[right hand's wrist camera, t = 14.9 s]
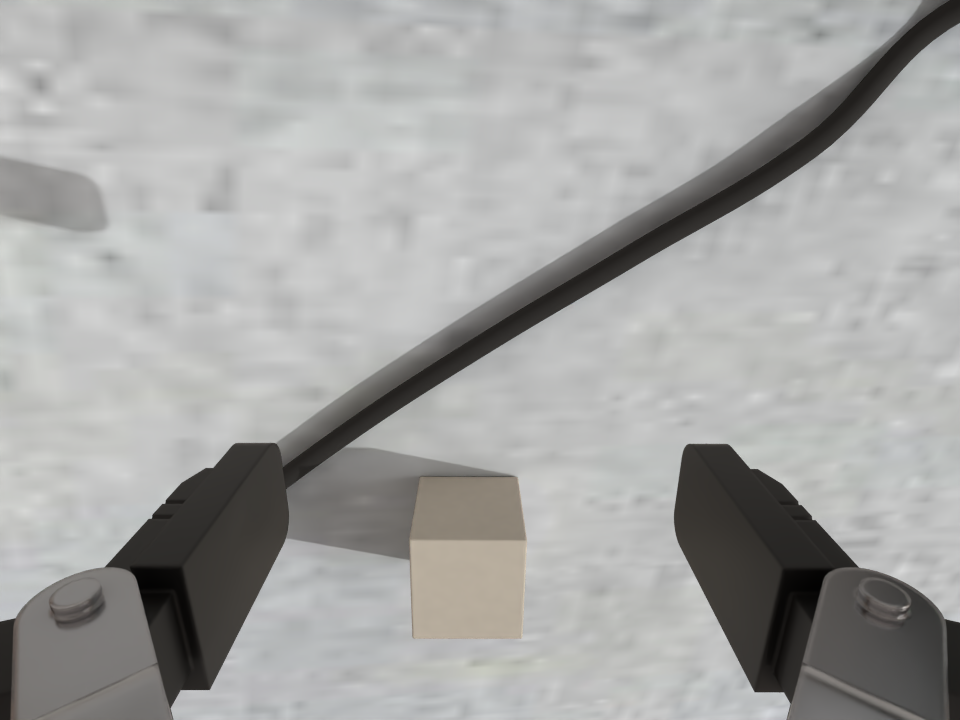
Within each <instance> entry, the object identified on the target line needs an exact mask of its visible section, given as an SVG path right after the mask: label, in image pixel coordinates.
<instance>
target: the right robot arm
mask: <svg viewBox="0 0 960 720" xmlns="http://www.w3.org/2000/svg"><path fill="white" fill-rule="evenodd" d="M959 23H960V0H950V1H948V2H947V3H945V4H944V5H942V6H940V7H939V8H937V9H936V10H935V11H933V12H932V13H930V14H929V15H928V16H926V17H925V18H924V19H922V20H921V21H920V22H919V23H917V24H916V25H915V26H914V27H913V28H912V29H910V30H909V31H908V32H907V33H906V34H905V35H904V36H903V37H902V38H901V39H900V40H899V41H898V42H897V43H896V44H895V45H894V46H893V47H892V48H891V49H890V50H889V51H888V52H887V53H886V54H885V55H884V56H883V57H882V58H881V60H880V61H879V62H878V63H877V64H876V65H875V66H874V68H873V69H872V70H871V71H870V72H869V73H868V74H867V76H866V77H865V78H864V79H863V80H862V81H861V82H860V84H859V85H858V86H857V87H856V88H855V89H854V91H853V92H852V93H851V94H850V95H849V96H848V97H847V99H846V100H845V101H844V102H843V103H842V104H841V105H840V106H839V107H838V108H837V109H836V110H835V111H834V112H833V113H832V114H831V115H830V116H829V117H828V118H827V119H826V120H825V121H824V122H823V123H822V124H820V125H819V126H818V127H817V128H816V129H814V130H813V131H812V132H811V133H809V134H808V135H807V136H806V137H804V138H803V139H802V140H800V141H799V142H798V143H796V144H795V145H793V146H792V147H790V148H789V149H788V150H786V151H785V152H783V153H782V154H780V155H779V156H777V157H776V158H775V159H773V160H772V161H770V162H769V163H767V164H766V165H764V166H762V167H761V168H759V169H758V170H756V171H755V172H753V173H751V174H750V175H748V176H747V177H745V178H743V179H742V180H740V181H738V182H737V183H735V184H733V185H732V186H730V187H728V188H727V189H725V190H723V191H722V192H720V193H718V194H716V195H715V196H713V197H711V198H709V199H708V200H706V201H704V202H702V203H701V204H699V205H697V206H695V207H693V208H692V209H690V210H688V211H686V212H685V213H683V214H681V215H679V216H677V217H676V218H674V219H672V220H670V221H669V222H667V223H665V224H663V225H662V226H660V227H658V228H656V229H655V230H653V231H651V232H650V233H648V234H646V235H644V236H643V237H641V238H639V239H638V240H636V241H634V242H633V243H631V244H629V245H628V246H626V247H624V248H623V249H621V250H619V251H618V252H616V253H614V254H613V255H611V256H609V257H608V258H606V259H604V260H603V261H601V262H599V263H598V264H596V265H594V266H593V267H591V268H589V269H588V270H586V271H584V272H583V273H581V274H579V275H578V276H576V277H574V278H573V279H571V280H569V281H567V282H566V283H564V284H562V285H561V286H559V287H557V288H556V289H554V290H552V291H551V292H549V293H547V294H546V295H544V296H542V297H540V298H539V299H537V300H535V301H534V302H532V303H530V304H529V305H527V306H525V307H524V308H522V309H520V310H519V311H517V312H515V313H514V314H512V315H511V316H509V317H507V318H506V319H504V320H502V321H501V322H499V323H497V324H496V325H494V326H493V327H491V328H489V329H488V330H486V331H485V332H483V333H481V334H480V335H478V336H477V337H475V338H473V339H472V340H470V341H469V342H467V343H465V344H464V345H462V346H461V347H459V348H458V349H456V350H454V351H453V352H451V353H450V354H448V355H446V356H445V357H443V358H442V359H440V360H438V361H437V362H435V363H434V364H432V365H431V366H429V367H427V368H426V369H424V370H423V371H421V372H420V373H418V374H417V375H415V376H413V377H412V378H410V379H409V380H407V381H406V382H404V383H403V384H401V385H400V386H398V387H397V388H395V389H393V390H392V391H390V392H389V393H387V394H386V395H384V396H383V397H381V398H380V399H378V400H377V401H375V402H374V403H373V404H371V405H370V406H368V407H367V408H365V409H364V410H362V411H361V412H359V413H358V414H357V415H355V416H354V417H352V418H351V419H349V420H348V421H346V422H345V423H344V424H342V425H341V426H339V427H338V428H337V429H335V430H334V431H332V432H331V433H330V434H328V435H327V436H325V437H324V438H323V439H321V440H320V441H318V442H317V443H316V444H314V445H313V446H311V447H310V448H309V449H307V450H306V451H305V452H303V453H302V454H300V455H299V456H298V457H296V458H295V459H294V460H292V461H291V462H290V463H288V464H287V465H286V466H284V467H283V466H282V459H281V453H280V450H279V447H278V446H277V444H275V443H236V444H234V445H233V446H232V447H231V448H230V449H229V450H228V451H227V453H226V454H225V455H224V456H223V457H222V459H221V460H220V461H219V462H218V463H217V464H216V466H215V467H214V468H205V469H204V470H202V471H200V472H199V473H197V474H196V475H194V476H192V477H191V478H189V479H187V480H186V481H184V482H182V483H181V484H180V485H179V486H178V487H177V489H176V490H175V491H174V492H173V493H172V494H171V495H170V496H169V497H168V498H167V500H166V503H165V504H162V505H161V506H160V507H159V508H158V509H157V511H156V512H155V513H154V514H153V515H152V519H148V520H147V522H146V523H145V524H144V525H143V526H142V527H141V528H140V529H139V530H138V531H137V532H136V534H135V535H134V536H133V537H132V538H131V539H130V540H129V541H128V542H127V543H126V545H125V546H124V547H123V548H122V549H121V550H120V551H119V552H118V553H117V554H116V556H115V557H114V558H113V559H112V560H111V561H110V562H109V563H108V564H107V565H106V566H105V567H104V568H96V569H91V570H87V571H83V572H80V573H77V574H74V575H71V576H69V577H66V578H64V579H62V580H60V581H58V582H56V583H54V584H52V585H50V586H49V587H47V588H45V589H44V590H42V591H41V592H40V593H38V594H37V595H35V596H34V597H33V598H32V599H31V600H30V601H28V603H27V604H26V605H25V606H24V607H23V608H22V609H21V611H20V612H19V613H18V615H17V617H16V618H15V619H10V620H6V621H1V622H0V720H173V716H172V712H171V709H170V708H171V706H172V705H173V703H174V701H175V699H176V697H177V696H178V694H179V692H180V690H210V688H211V686H212V684H213V682H214V680H215V678H216V676H217V675H218V673H219V671H220V669H221V667H222V665H223V663H224V661H225V659H226V657H227V655H228V653H229V651H230V649H231V647H232V645H233V643H234V641H235V639H236V637H237V635H238V633H239V631H240V629H241V627H242V625H243V623H244V621H245V619H246V617H247V615H248V613H249V611H250V609H251V607H252V605H253V603H254V601H255V599H256V597H257V595H258V593H259V592H260V590H261V588H262V586H263V584H264V582H265V580H266V578H267V576H268V574H269V572H270V570H271V568H272V566H273V564H274V562H275V560H276V558H277V556H278V554H279V552H280V550H281V548H282V546H283V544H284V542H285V539H286V535H287V531H288V523H289V510H288V502H287V495H286V489H287V488H288V487H289V486H291V485H292V484H293V483H295V482H296V481H297V480H299V479H300V478H301V477H303V476H304V475H305V474H307V473H308V472H310V471H311V470H312V469H314V468H315V467H316V466H318V465H319V464H321V463H322V462H323V461H325V460H326V459H328V458H329V457H330V456H332V455H333V454H335V453H336V452H338V451H339V450H340V449H342V448H343V447H345V446H346V445H348V444H349V443H350V442H352V441H353V440H355V439H356V438H358V437H359V436H360V435H362V434H363V433H365V432H366V431H368V430H369V429H371V428H372V427H374V426H375V425H377V424H378V423H380V422H381V421H382V420H384V419H385V418H387V417H388V416H390V415H391V414H393V413H394V412H396V411H398V410H399V409H401V408H402V407H404V406H405V405H407V404H408V403H410V402H411V401H413V400H414V399H416V398H418V397H419V396H421V395H422V394H424V393H425V392H427V391H429V390H430V389H432V388H433V387H435V386H437V385H438V384H440V383H441V382H443V381H444V380H446V379H448V378H449V377H451V376H452V375H454V374H456V373H457V372H459V371H461V370H462V369H464V368H465V367H467V366H469V365H470V364H472V363H473V362H475V361H477V360H478V359H480V358H481V357H483V356H485V355H486V354H488V353H490V352H491V351H493V350H494V349H496V348H498V347H499V346H501V345H503V344H504V343H506V342H507V341H509V340H511V339H512V338H514V337H516V336H517V335H519V334H521V333H522V332H524V331H526V330H527V329H529V328H531V327H532V326H534V325H536V324H537V323H539V322H541V321H543V320H544V319H546V318H548V317H549V316H551V315H553V314H554V313H556V312H558V311H560V310H561V309H563V308H565V307H566V306H568V305H570V304H572V303H573V302H575V301H577V300H578V299H580V298H582V297H584V296H585V295H587V294H589V293H590V292H592V291H594V290H595V289H597V288H599V287H601V286H602V285H604V284H606V283H607V282H609V281H611V280H613V279H614V278H616V277H618V276H619V275H621V274H623V273H624V272H626V271H628V270H629V269H631V268H633V267H634V266H636V265H638V264H639V263H641V262H643V261H645V260H646V259H648V258H650V257H651V256H653V255H655V254H656V253H658V252H660V251H662V250H663V249H665V248H667V247H669V246H670V245H672V244H674V243H676V242H678V241H679V240H681V239H683V238H685V237H686V236H688V235H690V234H692V233H694V232H695V231H697V230H699V229H701V228H703V227H704V226H706V225H708V224H710V223H712V222H713V221H715V220H717V219H719V218H721V217H722V216H724V215H726V214H728V213H729V212H731V211H733V210H735V209H736V208H738V207H740V206H742V205H743V204H745V203H747V202H748V201H750V200H752V199H753V198H755V197H757V196H758V195H760V194H761V193H763V192H765V191H766V190H768V189H770V188H771V187H773V186H774V185H776V184H777V183H779V182H780V181H782V180H783V179H785V178H786V177H788V176H789V175H791V174H792V173H794V172H795V171H797V170H798V169H800V168H801V167H803V166H804V165H805V164H807V163H808V162H810V161H811V160H812V159H814V158H815V157H817V156H818V155H819V154H820V153H822V152H823V151H824V150H826V149H827V148H828V147H829V146H831V145H832V144H833V143H834V142H835V141H836V140H837V139H838V138H840V137H841V136H842V135H843V134H844V133H845V132H846V131H847V130H848V129H849V128H850V127H851V126H852V125H853V124H854V123H855V122H856V121H857V120H858V119H859V118H860V117H861V116H862V115H863V114H864V113H865V112H866V111H867V110H868V108H869V107H870V106H871V105H872V104H873V103H874V102H875V101H876V99H877V98H878V97H879V96H880V95H881V94H882V92H883V91H884V90H885V89H886V88H887V87H888V85H889V84H890V83H891V82H892V81H893V80H894V79H895V77H896V76H897V75H898V74H899V73H900V72H901V71H902V70H903V68H904V67H905V66H906V65H907V64H908V63H909V62H910V61H911V60H912V59H913V58H914V57H915V56H916V55H917V54H918V53H919V52H920V51H921V50H922V49H924V48H925V47H926V46H927V45H928V44H930V43H931V42H932V41H933V40H935V39H936V38H937V37H939V36H940V35H942V34H943V33H944V32H946V31H947V30H949V29H950V28H952V27H954V26H955V25H957V24H959ZM674 525H675V532H676V537H677V540H678V543H679V545H680V547H681V549H682V551H683V553H684V555H685V557H686V559H687V561H688V563H689V565H690V567H691V569H692V571H693V573H694V574H695V576H696V578H697V580H698V582H699V584H700V586H701V588H702V590H703V592H704V594H705V596H706V598H707V600H708V602H709V604H710V606H711V608H712V610H713V612H714V614H715V616H716V617H717V619H718V621H719V623H720V625H721V627H722V629H723V631H724V633H725V635H726V637H727V639H728V641H729V643H730V645H731V647H732V649H733V651H734V653H735V655H736V657H737V658H738V660H739V662H740V664H741V666H742V668H743V670H744V672H745V674H746V676H747V678H748V680H749V682H750V684H751V686H752V688H753V690H754V692H784V693H785V695H786V696H787V698H788V700H789V702H790V703H791V705H790V709H789V712H788V716H787V720H960V623H959V622H955V621H950V620H946V619H944V617H943V615H942V613H941V612H940V611H939V609H938V608H937V607H936V606H935V605H934V604H933V603H932V601H930V600H929V599H928V598H927V597H926V596H925V595H923V594H922V593H920V592H919V591H918V590H916V589H915V588H913V587H911V586H910V585H908V584H906V583H904V582H902V581H900V580H898V579H896V578H894V577H891V576H889V575H886V574H883V573H880V572H877V571H873V570H869V569H864V568H859V567H858V566H857V565H856V564H855V563H854V562H853V561H852V560H851V558H850V557H849V556H848V555H847V554H846V553H845V552H844V551H843V550H842V549H841V548H840V546H839V545H838V544H837V543H836V542H835V541H834V540H833V539H832V538H831V537H830V536H829V535H828V533H827V532H826V531H825V530H824V529H823V528H822V527H821V526H820V525H819V524H818V523H817V521H816V520H812V516H811V515H810V514H809V513H808V512H807V511H806V510H805V508H804V507H803V506H802V505H799V504H798V501H797V500H796V499H795V498H794V496H793V495H792V494H791V493H790V492H789V491H788V490H787V489H786V488H785V487H784V486H783V485H782V484H781V483H779V482H778V481H776V480H775V479H773V478H771V477H770V476H768V475H766V474H765V473H763V472H761V471H760V470H758V469H750V468H749V467H748V466H747V465H746V464H745V462H744V461H743V460H742V459H741V458H740V457H739V455H738V454H737V453H736V452H735V451H734V450H733V448H732V447H731V446H730V445H728V444H688V445H686V447H685V448H684V451H683V455H682V461H681V468H680V475H679V482H678V489H677V496H676V503H675V510H674Z"/></svg>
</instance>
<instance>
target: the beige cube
mask: <svg viewBox="0 0 960 720" xmlns="http://www.w3.org/2000/svg"><path fill="white" fill-rule="evenodd" d="M409 552H410V581H411V609H412V637H413V638H414V639H521V638H522V634H523V614H524V593H525V573H526V552H527V537H526V530H525V523H524V516H523V509H522V502H521V495H520V488H519V481H518V478H517V477H420V479H419V485H418V491H417V497H416V503H415V508H414V514H413V520H412V526H411V532H410V538H409Z"/></svg>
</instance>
